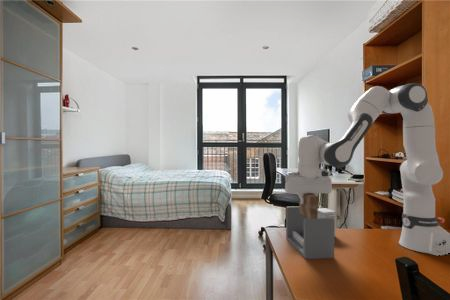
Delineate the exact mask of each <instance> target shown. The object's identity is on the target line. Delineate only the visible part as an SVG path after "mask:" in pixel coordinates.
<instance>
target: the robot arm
mask: <svg viewBox="0 0 450 300" xmlns="http://www.w3.org/2000/svg"><path fill="white" fill-rule="evenodd" d="M399 113H400V114H401V116H402V119H403V120H402V139H403V140H402V142H403V148H404V152H405V157H406V160H404V161H403V162H402V163H401V164H400V165H399V171H400V180H401V187H402V194H403V208H402V209H403V212H402V214H401V221H402V227H401V233H400V237H399V241H398V244H399V245H400V246H401V247H404V248H406V249H408V250H410V251H416V252H418V253H419V252H420V253H424V254H430V255H433V256H436V257H437V256H439V255H440V256H445V254H446V255H449V254H448V253H450V232H448V231H447V230H446V229H444V227H442V226H440V224H439V223H441V224H443V223H445V221H446V219H445V218H443V217H439V216H438V217H437V216H436V198H435V194H434V192H433V185H436V184H438V183H439V182H441V181H442V179H443V177H444V170H443V169H442V167H441V164H440V159H439V155H438V151H437V147H436V127H435V126H436V125H435V123H436V122H435V117H434V116H435V115H434V112H433V108H432V104H430V103H428V92H427V90H426V88H425V86H423V84H421V83H418V82H417V83H416V82H413V83H406V84H404V85H399V86H396V87H393V88H392V89H389V90H388V89H387V88H386V87H384V86H382V85H381V86H379V85H376V86H372V87H370V88H369V89H368V90H366V91H365V92H364V93H363V94H362V95H361V96H360V97H359V98H358V99H357V100H356V101H355V102H354V103H353V104H352V106H351V107H350V109H349V111H348V113H347V118H348V120H349V122H350V123H351V125H350V127H349V128H348V130H346V132H345V133H344V135H343V136H342V138H340V139H339V140H338V141H335V142H329V141H326V140H325V139H323V138H321V137H320V136H318V135H317V134H311V135H305V136H302V137H300V138H299V141H298V148H297V156H298V163H297V171H289V172H287V173H285V176H284V181H285V185H284V191H285V193H286V194H290V195H291V194H293V195H294V194H296V195H298V197H300V199H301V203H302V204H305V203H306V200H305V199H303V197H302V196H303V194H309V193H312V194H314V195H316V196H319V194H331V193H332V192H333V184H332V183H333V182H332V179H331V172H330V171H327V170H324V169H323V168H320V164H324V165H327V166H332V167H333V168H339V169H340V168H344V167H346V166H347V165H349V164H350V162H351V161H352V159H353V156H354V152H355V151H356V149H357V147H358V145H359V144H360V143H361V141H362V140H363V139H364V137H365V136H366V134H367V133H368V131H369V130H370V128H371V127H372V126H373V123H374V122H375V121H376V120H377V118H378V117H379V116H380V115H381V114H385V115H392V114H399Z"/></svg>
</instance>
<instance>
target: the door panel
mask: <svg viewBox="0 0 450 300" xmlns="http://www.w3.org/2000/svg"><path fill="white" fill-rule="evenodd" d="M318 196H319V195H318ZM318 196H316V195H314V194H313V193H309V194H303V196H302V197H303V199H305V200H306V203H305V204H302V203H301V199H300V197H299V196H298V197H299V199H298V200H299V201H298V202H299V203H298V204H299V205H298V206H299V213H301V214H302V215H304V216H305V217H306V218H308V219H314V218H317V216H318V209H319V207H318V203H319V202H318V201H319V197H318Z"/></svg>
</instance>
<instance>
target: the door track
mask: <svg viewBox="0 0 450 300" xmlns="http://www.w3.org/2000/svg"><path fill="white" fill-rule="evenodd" d="M285 212H286V214H285V216H286V217H285V219H286V220H285V228H286V229H285V234H286V235H285V239H286V240H287V241H288V243H290V245H292V247H293V248H294V249H295V250H296V251H297V252H298V253H299V254H300V255H301V256H302V257H303V259H304V258H305V259H304V260H314V259H315V260H316V259H319V260H320V259H334V258H335V237H334V219H333V218H314V219H308V218H306V217H305V216H304V215H302V214H301V213H299V205H298V206H297V205H296V206H293V205H291V206H286V207H285Z"/></svg>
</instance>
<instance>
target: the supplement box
mask: <svg viewBox="0 0 450 300" xmlns="http://www.w3.org/2000/svg"><path fill="white" fill-rule="evenodd" d="M336 215H337V213H336V211H335V210H332V209H330V208H325V207H321V208H320V207H319V208H318V216H317V218H333V219H334V238H335V237H336V231H337V230H336V226H337V224H336V217H337V216H336Z"/></svg>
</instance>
